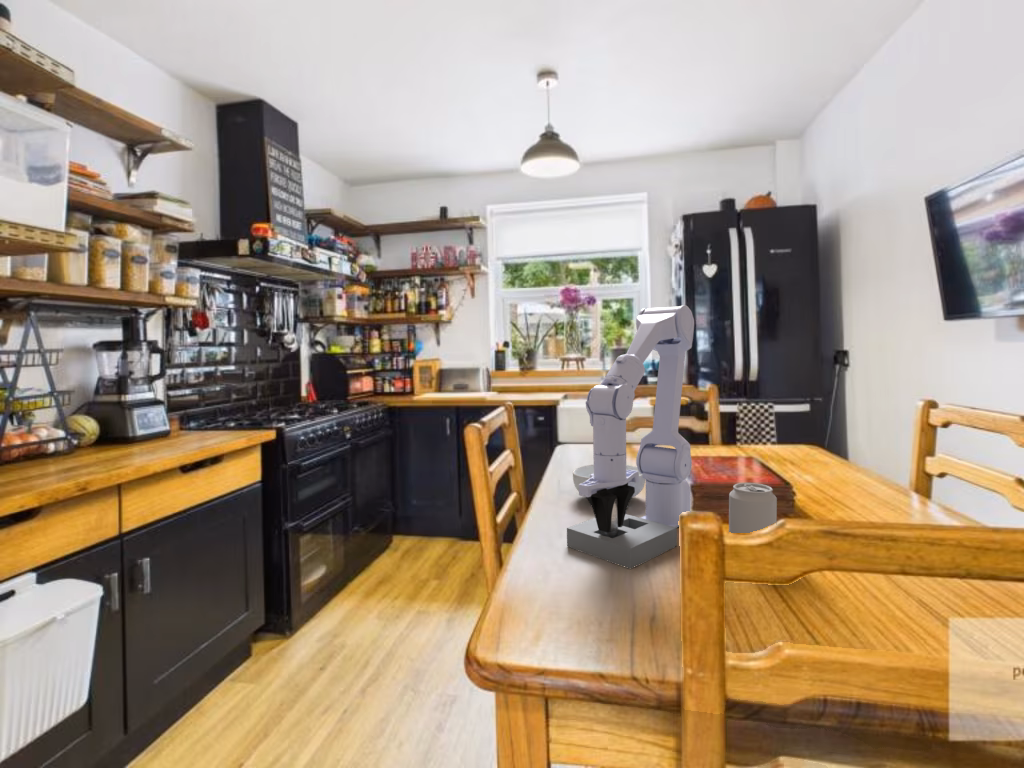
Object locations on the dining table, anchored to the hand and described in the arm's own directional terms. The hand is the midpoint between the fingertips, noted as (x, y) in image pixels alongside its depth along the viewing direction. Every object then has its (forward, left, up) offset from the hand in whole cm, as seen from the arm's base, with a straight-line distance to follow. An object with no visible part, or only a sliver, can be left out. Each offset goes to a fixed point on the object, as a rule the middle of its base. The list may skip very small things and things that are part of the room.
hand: (610, 528), depth 95 cm
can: (-16, +18, -4) cm, 25 cm away
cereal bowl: (-25, -20, -4) cm, 32 cm away
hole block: (-3, 0, -4) cm, 5 cm away
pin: (0, 0, -2) cm, 3 cm away
